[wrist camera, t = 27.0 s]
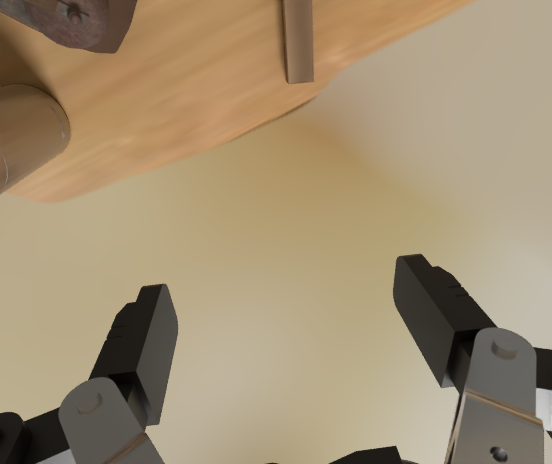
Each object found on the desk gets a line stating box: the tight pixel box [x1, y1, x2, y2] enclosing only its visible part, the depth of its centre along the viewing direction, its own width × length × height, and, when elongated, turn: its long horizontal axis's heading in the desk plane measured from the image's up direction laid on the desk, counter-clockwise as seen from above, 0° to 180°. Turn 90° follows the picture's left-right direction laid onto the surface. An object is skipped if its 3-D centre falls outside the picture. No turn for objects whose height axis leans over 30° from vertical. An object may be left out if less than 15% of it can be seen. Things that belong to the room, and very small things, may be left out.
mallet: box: [282, 0, 314, 84], centre depth 38 cm, size 6×16×4 cm, turn 4°
